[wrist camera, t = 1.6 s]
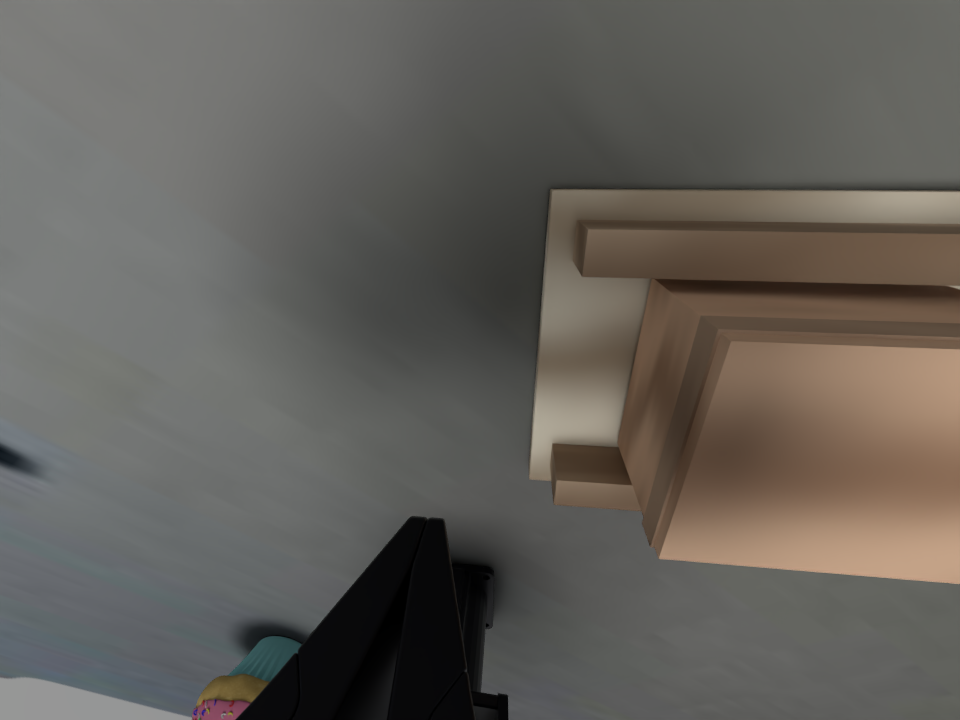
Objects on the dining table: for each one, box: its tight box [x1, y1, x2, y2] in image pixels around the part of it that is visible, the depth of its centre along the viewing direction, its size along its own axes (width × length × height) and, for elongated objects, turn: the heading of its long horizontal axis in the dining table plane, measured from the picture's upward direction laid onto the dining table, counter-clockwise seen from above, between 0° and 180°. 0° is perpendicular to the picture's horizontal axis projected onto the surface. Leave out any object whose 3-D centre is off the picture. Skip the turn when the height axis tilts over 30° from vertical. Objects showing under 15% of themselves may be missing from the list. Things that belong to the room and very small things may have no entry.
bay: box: [529, 189, 960, 511], centre depth 15 cm, size 14×30×4 cm, turn 90°
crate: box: [617, 279, 960, 584], centre depth 13 cm, size 8×10×6 cm
